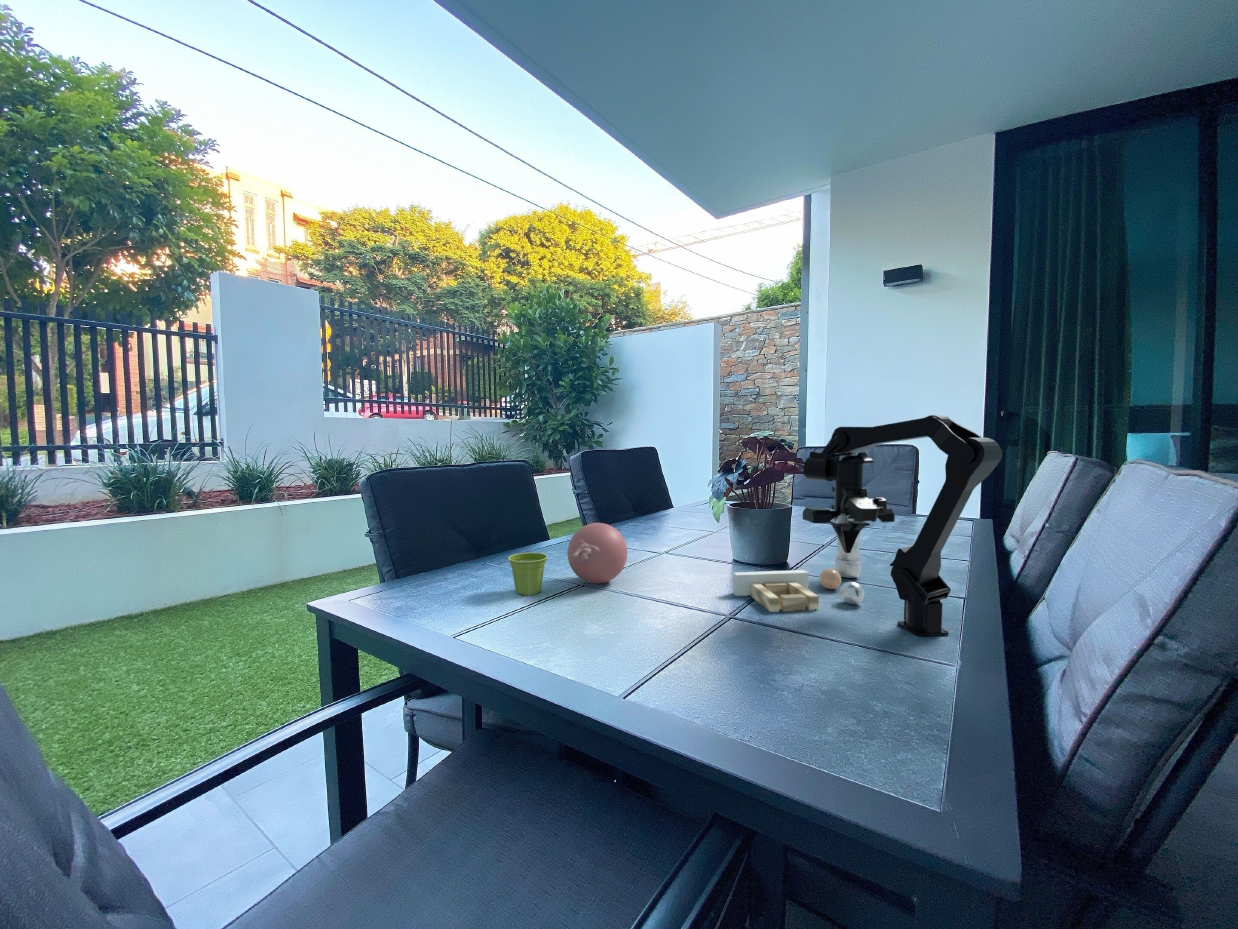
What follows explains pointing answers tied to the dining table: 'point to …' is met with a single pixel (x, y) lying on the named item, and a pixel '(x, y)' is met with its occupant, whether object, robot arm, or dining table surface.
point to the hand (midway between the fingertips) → (847, 552)
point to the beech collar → (784, 596)
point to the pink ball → (597, 553)
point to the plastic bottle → (848, 560)
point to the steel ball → (852, 592)
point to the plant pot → (528, 572)
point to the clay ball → (830, 578)
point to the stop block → (766, 579)
